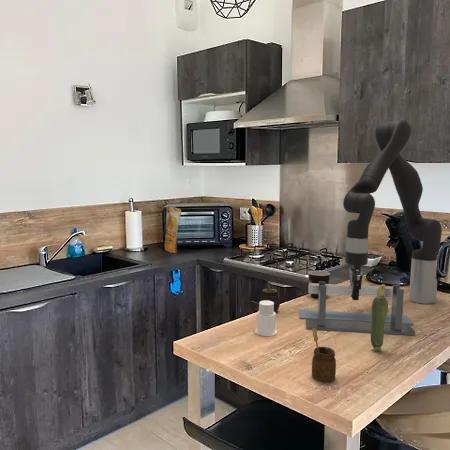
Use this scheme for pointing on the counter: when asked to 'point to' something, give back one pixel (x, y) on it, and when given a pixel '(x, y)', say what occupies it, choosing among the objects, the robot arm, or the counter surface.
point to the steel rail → (349, 290)
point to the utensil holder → (323, 362)
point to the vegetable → (378, 318)
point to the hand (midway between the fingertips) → (354, 298)
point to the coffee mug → (318, 279)
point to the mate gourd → (271, 297)
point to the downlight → (266, 319)
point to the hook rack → (360, 326)
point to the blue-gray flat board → (348, 316)
